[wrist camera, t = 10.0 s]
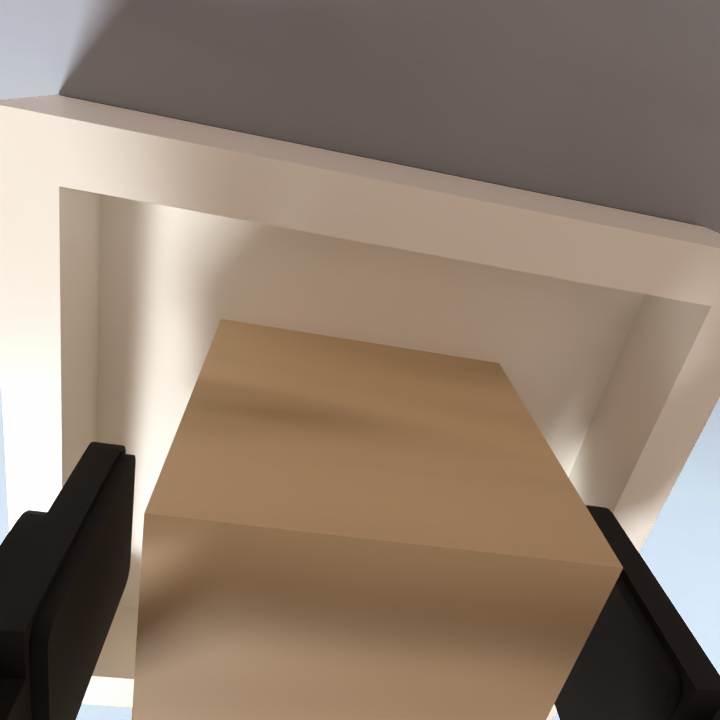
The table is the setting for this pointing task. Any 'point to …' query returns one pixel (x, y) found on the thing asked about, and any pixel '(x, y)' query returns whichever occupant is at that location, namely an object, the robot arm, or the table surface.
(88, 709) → the table surface
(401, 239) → the tray
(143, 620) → the cube
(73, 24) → the table surface
